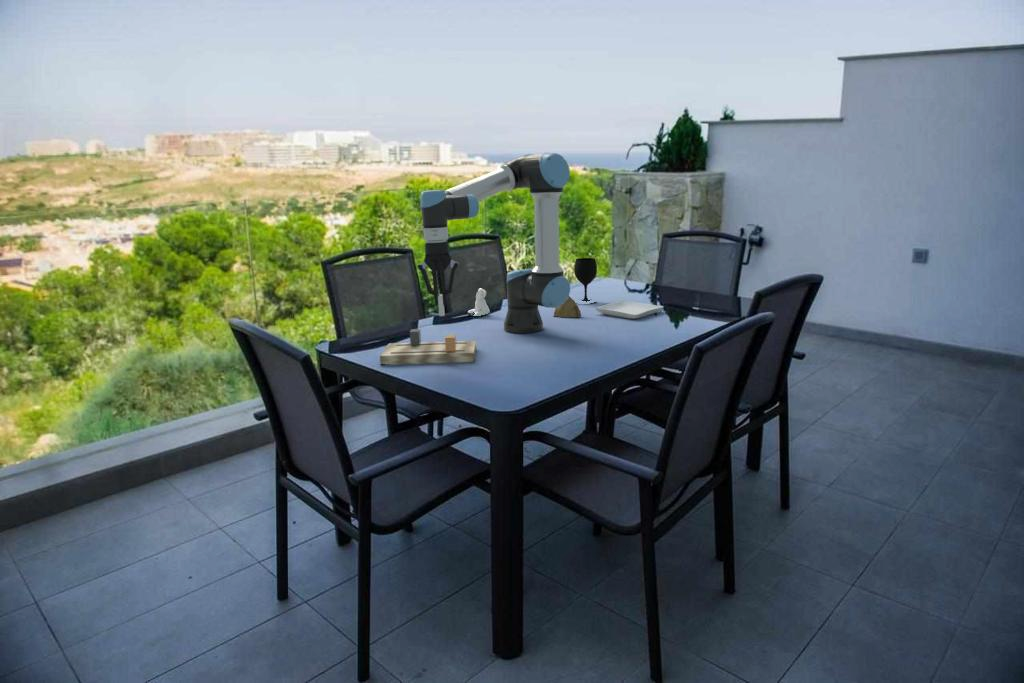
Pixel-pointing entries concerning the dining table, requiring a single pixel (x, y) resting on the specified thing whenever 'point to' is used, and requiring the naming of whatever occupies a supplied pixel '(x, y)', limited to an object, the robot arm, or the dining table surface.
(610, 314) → the salad plate
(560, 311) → the rock
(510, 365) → the dining table surface
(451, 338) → the orange fader
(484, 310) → the white creature statuette
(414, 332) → the graphite fader
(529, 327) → the robot arm
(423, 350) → the fader console
